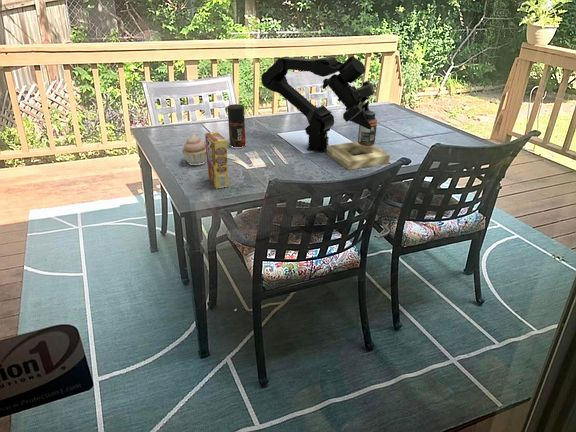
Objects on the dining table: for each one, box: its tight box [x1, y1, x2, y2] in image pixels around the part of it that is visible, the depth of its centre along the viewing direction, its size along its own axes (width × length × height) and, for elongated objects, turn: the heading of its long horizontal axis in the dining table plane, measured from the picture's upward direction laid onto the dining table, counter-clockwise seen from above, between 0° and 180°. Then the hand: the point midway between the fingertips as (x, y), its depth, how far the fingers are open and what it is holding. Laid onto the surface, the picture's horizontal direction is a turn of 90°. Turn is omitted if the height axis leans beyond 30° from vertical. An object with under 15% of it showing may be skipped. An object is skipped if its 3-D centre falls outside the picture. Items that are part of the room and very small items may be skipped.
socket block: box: [326, 141, 390, 171], centre depth 164 cm, size 16×16×3 cm
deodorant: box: [227, 103, 246, 147], centre depth 171 cm, size 6×6×15 cm
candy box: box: [204, 131, 229, 190], centre depth 142 cm, size 9×4×15 cm, turn 26°
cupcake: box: [181, 134, 207, 164], centre depth 158 cm, size 9×9×10 cm
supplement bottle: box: [357, 110, 378, 146], centre depth 161 cm, size 6×6×11 cm
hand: (372, 125), depth 160 cm, fingers closed on supplement bottle, 6 cm apart
